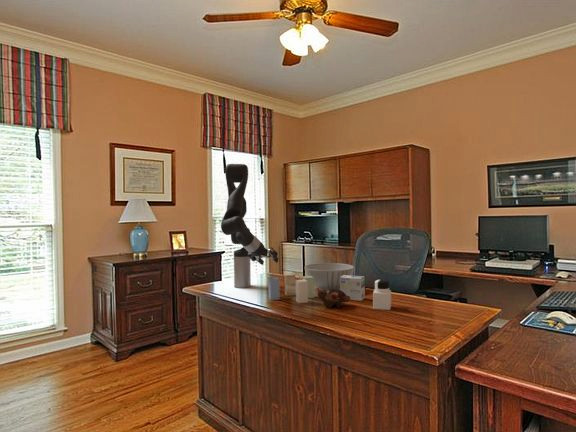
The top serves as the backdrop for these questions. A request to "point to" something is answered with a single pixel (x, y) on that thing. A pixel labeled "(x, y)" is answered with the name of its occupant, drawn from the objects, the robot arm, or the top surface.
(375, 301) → the medicine bottle
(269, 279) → the slate-blue pillar
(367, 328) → the top surface
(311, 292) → the sage pillar
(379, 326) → the top surface
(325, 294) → the decorative turtle
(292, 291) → the maple pillar
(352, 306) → the top surface
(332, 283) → the decorative bowl
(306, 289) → the ivory pillar
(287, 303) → the top surface
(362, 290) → the light bulb box
